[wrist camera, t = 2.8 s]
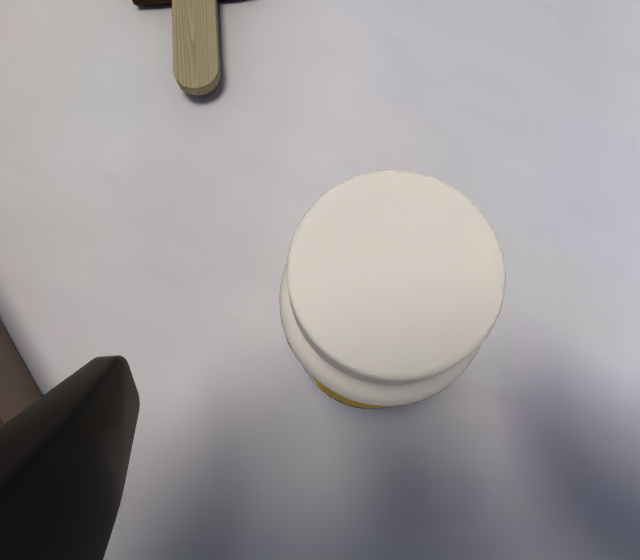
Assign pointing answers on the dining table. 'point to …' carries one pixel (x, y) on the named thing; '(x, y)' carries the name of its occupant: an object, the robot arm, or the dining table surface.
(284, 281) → the supplement bottle
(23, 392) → the shelf
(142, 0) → the ice cream bar
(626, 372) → the dining table surface
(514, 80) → the dining table surface
